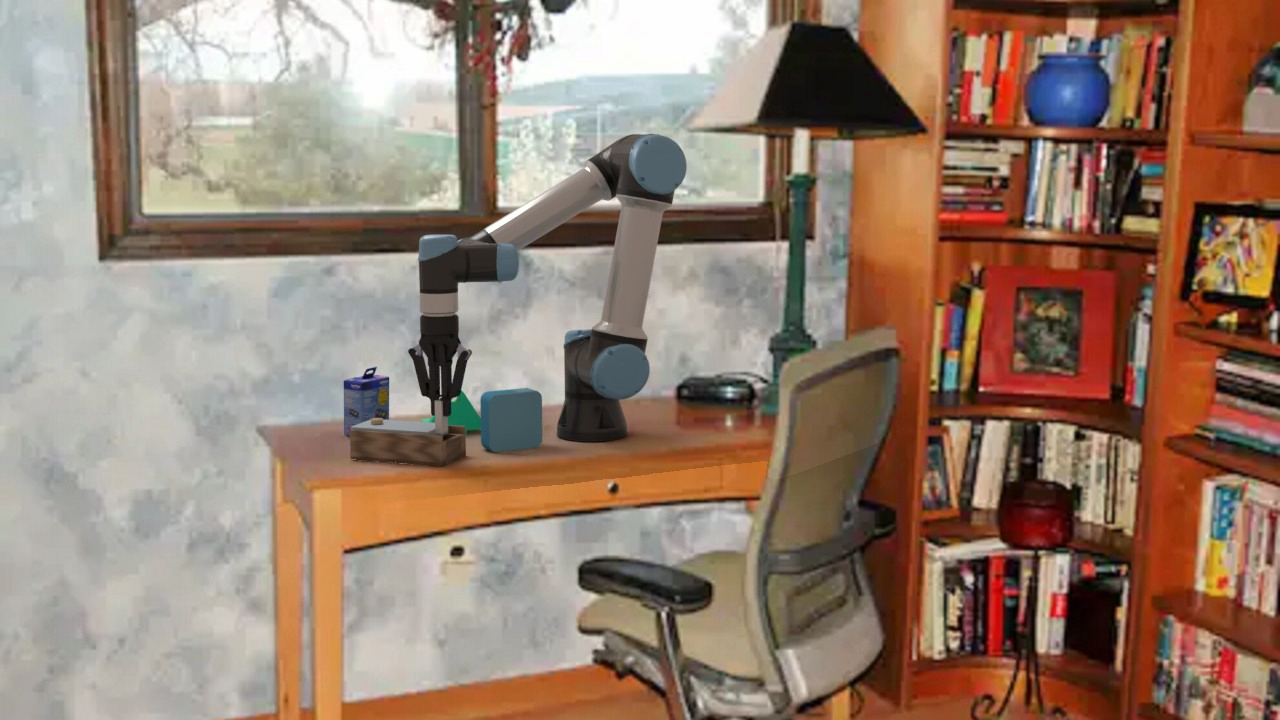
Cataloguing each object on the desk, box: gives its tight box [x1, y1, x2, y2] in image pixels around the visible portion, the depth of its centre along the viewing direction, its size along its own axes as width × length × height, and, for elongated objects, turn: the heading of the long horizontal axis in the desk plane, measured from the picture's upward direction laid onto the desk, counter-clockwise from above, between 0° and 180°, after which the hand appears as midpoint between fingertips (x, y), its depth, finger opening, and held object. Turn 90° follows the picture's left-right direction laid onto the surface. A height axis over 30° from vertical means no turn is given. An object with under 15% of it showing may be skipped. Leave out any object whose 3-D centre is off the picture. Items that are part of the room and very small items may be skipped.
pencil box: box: [349, 425, 467, 468], centre depth 307 cm, size 20×11×6 cm, turn 72°
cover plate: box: [350, 418, 448, 436], centre depth 307 cm, size 17×9×3 cm, turn 72°
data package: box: [479, 387, 543, 454], centre depth 316 cm, size 12×4×12 cm, turn 121°
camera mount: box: [420, 389, 481, 435], centre depth 333 cm, size 12×8×10 cm, turn 111°
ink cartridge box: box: [343, 366, 390, 437], centre depth 331 cm, size 10×6×14 cm, turn 152°
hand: (441, 432), depth 304 cm, fingers closed
